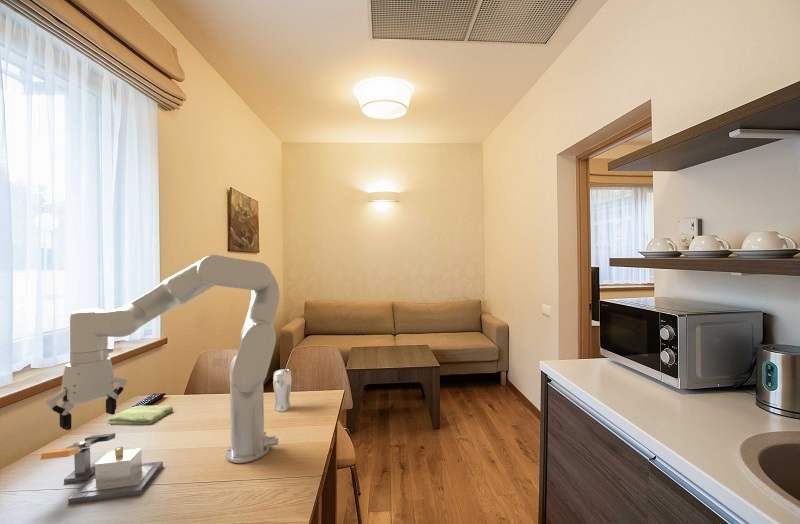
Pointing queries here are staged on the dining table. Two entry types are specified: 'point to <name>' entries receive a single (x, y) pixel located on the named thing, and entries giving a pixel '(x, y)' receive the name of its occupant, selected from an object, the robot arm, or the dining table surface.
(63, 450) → the press lever
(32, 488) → the dining table surface
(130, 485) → the press bed
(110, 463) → the block
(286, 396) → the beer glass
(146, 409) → the washcloth
